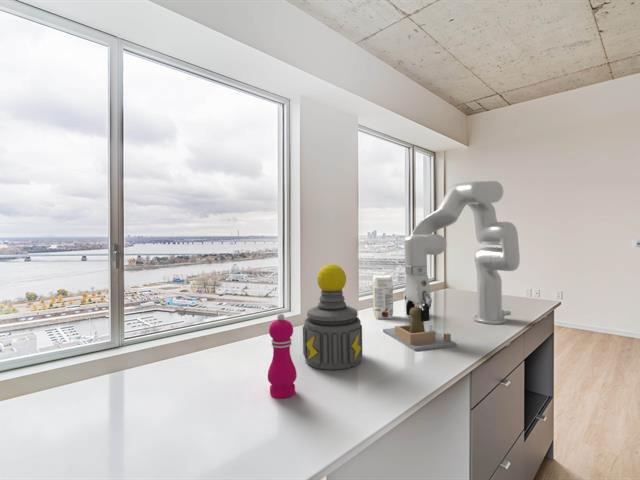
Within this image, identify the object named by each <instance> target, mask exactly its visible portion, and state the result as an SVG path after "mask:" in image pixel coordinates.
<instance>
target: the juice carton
mask: <svg viewBox="0 0 640 480" xmlns="http://www.w3.org/2000/svg"><path fill="white" fill-rule="evenodd" d="M372 305H373V307H372V311H373V315H374V317H375V318H376V320H392V319H393V315H394V283H393V278H392V276H391V275H389V274H387V275H373V279H372Z"/></svg>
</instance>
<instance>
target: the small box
mask: <svg viewBox="0 0 640 480" xmlns="http://www.w3.org/2000/svg"><path fill="white" fill-rule="evenodd" d="M404 297H405V295H404V294H403V313H404V315H405V316H406V317H407V318H411V316H410V315H407V314H406V303H405V301H406V300H405V298H404ZM414 304H415V307H419V308H421V307H420V305H419V304H418V303H415V302H414Z"/></svg>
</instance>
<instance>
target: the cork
mask: <svg viewBox="0 0 640 480" xmlns="http://www.w3.org/2000/svg"><path fill="white" fill-rule="evenodd" d="M420 310H421V307H420V308H419V307H414V308H411V309H410V316H411V317H410V324H409V325H410V330H409V332H410V333H420V332H425V330H424V322H422V321H421V320H420Z"/></svg>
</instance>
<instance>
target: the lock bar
mask: <svg viewBox="0 0 640 480" xmlns="http://www.w3.org/2000/svg"><path fill="white" fill-rule="evenodd" d="M424 330H425V331H426V332H429V331H434V325H433V324H432V323H430V322H428V321H424Z"/></svg>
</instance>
